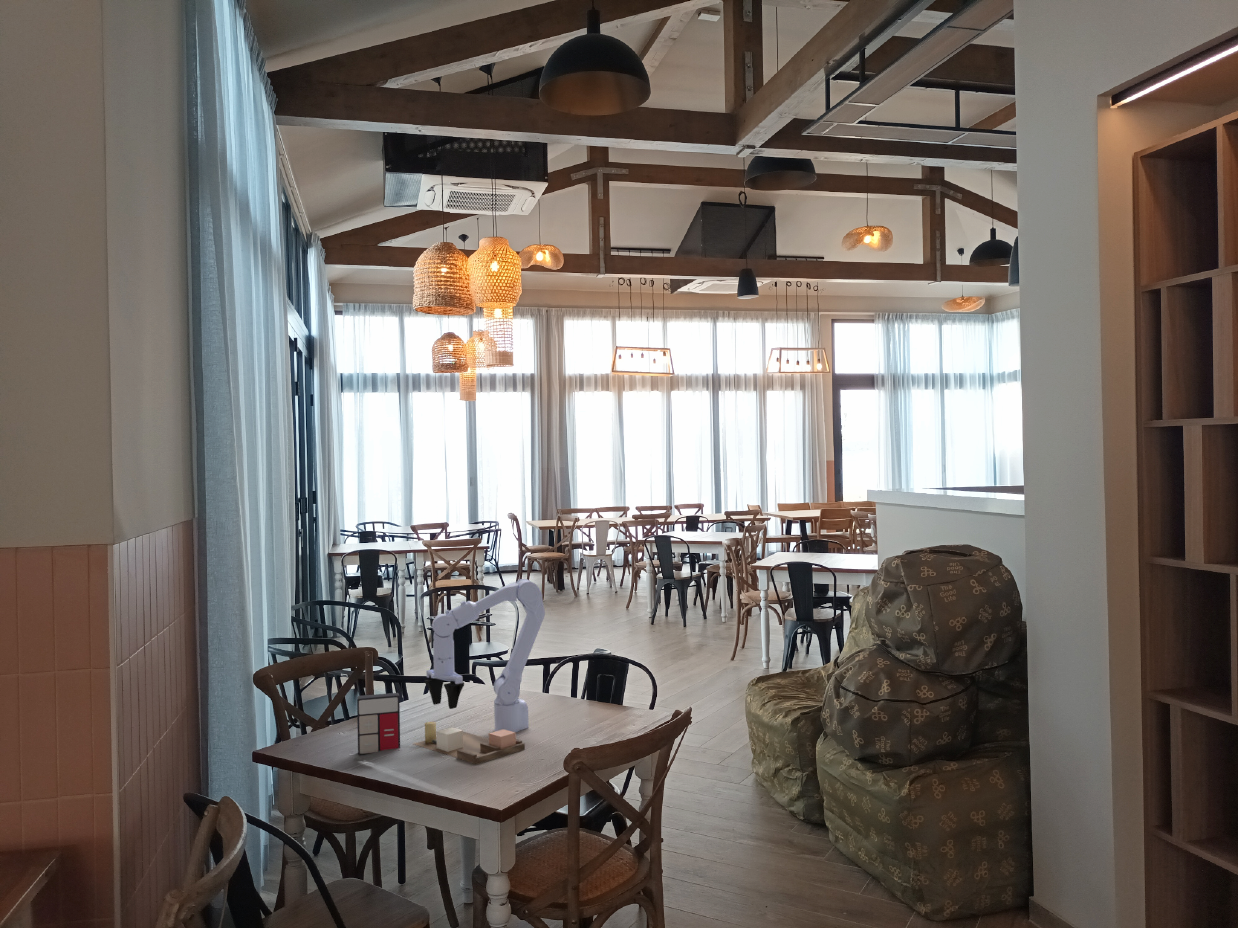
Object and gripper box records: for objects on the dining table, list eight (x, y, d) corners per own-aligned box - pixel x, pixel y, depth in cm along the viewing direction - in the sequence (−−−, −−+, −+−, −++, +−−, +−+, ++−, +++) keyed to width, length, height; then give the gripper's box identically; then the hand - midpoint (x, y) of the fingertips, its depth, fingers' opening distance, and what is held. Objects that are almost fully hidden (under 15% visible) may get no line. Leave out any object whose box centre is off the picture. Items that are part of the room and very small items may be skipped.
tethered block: (435, 738, 244) (434, 720, 244) (463, 747, 235) (462, 728, 235) (419, 742, 240) (419, 724, 240) (447, 751, 231) (447, 732, 231)
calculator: (357, 756, 232) (356, 699, 233) (358, 751, 236) (357, 695, 237) (400, 751, 235) (399, 695, 235) (400, 747, 239) (399, 692, 240)
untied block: (503, 745, 235) (503, 729, 235) (515, 749, 231) (515, 732, 231) (489, 750, 231) (488, 733, 231) (501, 754, 228) (500, 736, 228)
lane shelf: (460, 734, 251) (460, 723, 251) (524, 752, 231) (524, 741, 232) (413, 747, 239) (412, 736, 239) (476, 768, 220) (476, 756, 220)
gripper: (417, 656, 248) (417, 704, 248) (447, 662, 238) (448, 712, 238) (437, 652, 253) (438, 699, 253) (468, 658, 243) (469, 707, 243)
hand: (444, 705), depth 246 cm, fingers open, 7 cm apart
